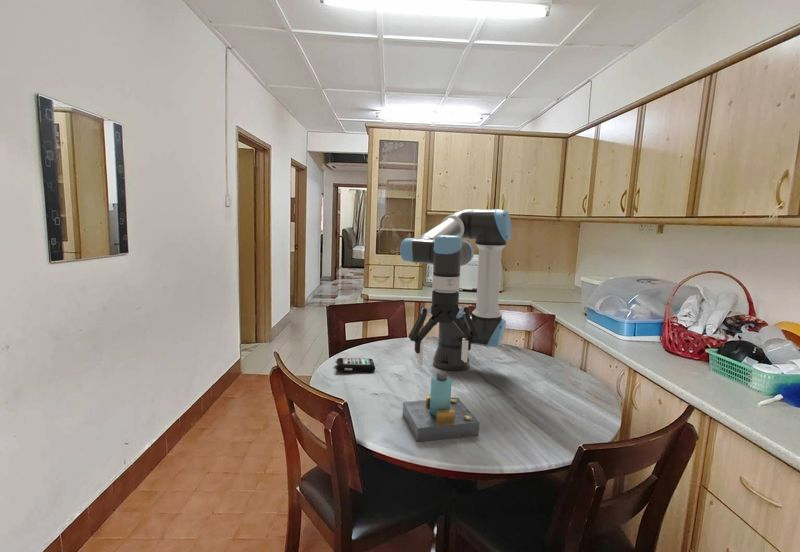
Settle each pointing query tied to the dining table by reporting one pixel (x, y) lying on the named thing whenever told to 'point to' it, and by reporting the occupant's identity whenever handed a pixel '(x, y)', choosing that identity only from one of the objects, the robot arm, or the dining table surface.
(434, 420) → the fixture block
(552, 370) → the dining table surface
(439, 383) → the pump
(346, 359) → the phone
